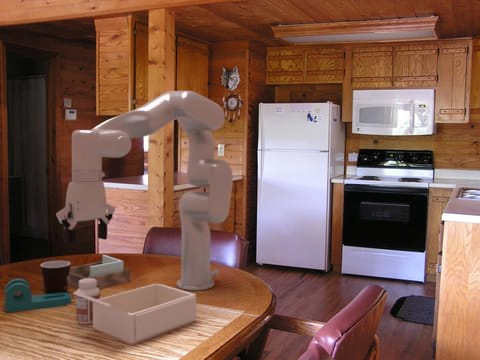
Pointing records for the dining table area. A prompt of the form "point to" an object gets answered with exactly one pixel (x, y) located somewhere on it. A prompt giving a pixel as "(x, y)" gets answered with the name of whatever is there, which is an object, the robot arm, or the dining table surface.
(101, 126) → the robot arm
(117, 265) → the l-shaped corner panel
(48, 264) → the coffee mug
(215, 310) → the dining table surface
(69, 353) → the dining table surface
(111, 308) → the end flap
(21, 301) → the bracket
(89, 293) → the pill bottle
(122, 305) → the carton
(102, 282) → the open square frame
